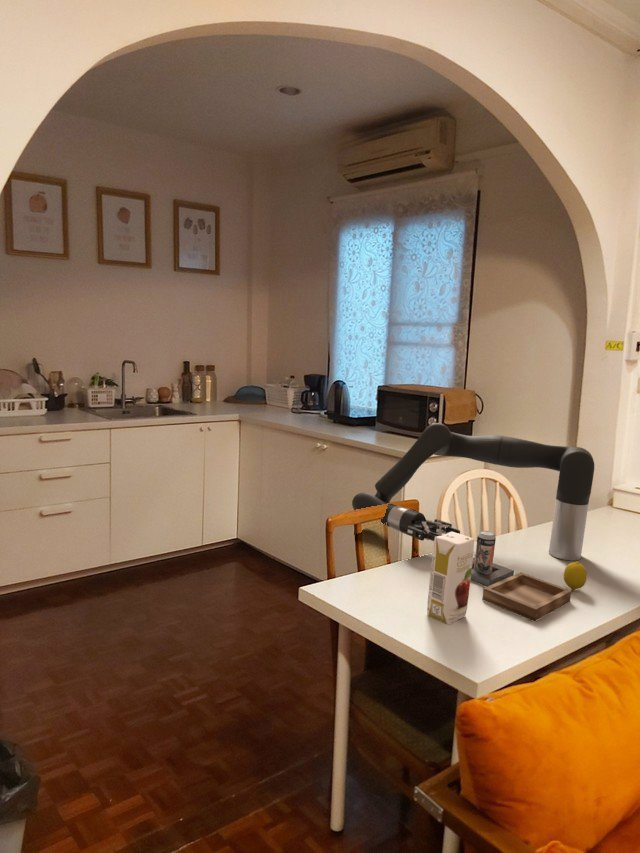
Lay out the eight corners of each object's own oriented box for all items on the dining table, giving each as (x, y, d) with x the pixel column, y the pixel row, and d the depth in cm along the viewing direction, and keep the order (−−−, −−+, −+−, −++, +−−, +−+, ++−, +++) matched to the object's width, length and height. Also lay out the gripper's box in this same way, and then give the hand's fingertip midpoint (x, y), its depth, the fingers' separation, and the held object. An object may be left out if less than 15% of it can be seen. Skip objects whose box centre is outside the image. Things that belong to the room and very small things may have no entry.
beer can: (473, 576, 169) (477, 534, 167) (473, 570, 173) (477, 529, 171) (491, 579, 168) (496, 537, 166) (490, 573, 172) (495, 531, 170)
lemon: (582, 588, 166) (586, 559, 165) (585, 596, 161) (589, 567, 160) (560, 584, 168) (564, 556, 166) (563, 592, 162) (566, 563, 161)
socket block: (475, 563, 179) (476, 556, 179) (513, 577, 170) (514, 570, 170) (451, 572, 171) (451, 565, 170) (489, 587, 162) (490, 580, 162)
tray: (519, 582, 167) (520, 572, 166) (570, 602, 157) (571, 590, 156) (482, 599, 155) (483, 588, 154) (534, 621, 145) (535, 609, 144)
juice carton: (421, 614, 144) (429, 536, 141) (443, 605, 150) (451, 529, 147) (449, 627, 139) (458, 546, 136) (470, 616, 145) (479, 538, 142)
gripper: (392, 512, 184) (436, 528, 172) (422, 505, 193) (466, 520, 182) (389, 537, 185) (433, 554, 173) (419, 528, 195) (463, 544, 183)
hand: (450, 536), depth 177 cm, fingers open, 8 cm apart
